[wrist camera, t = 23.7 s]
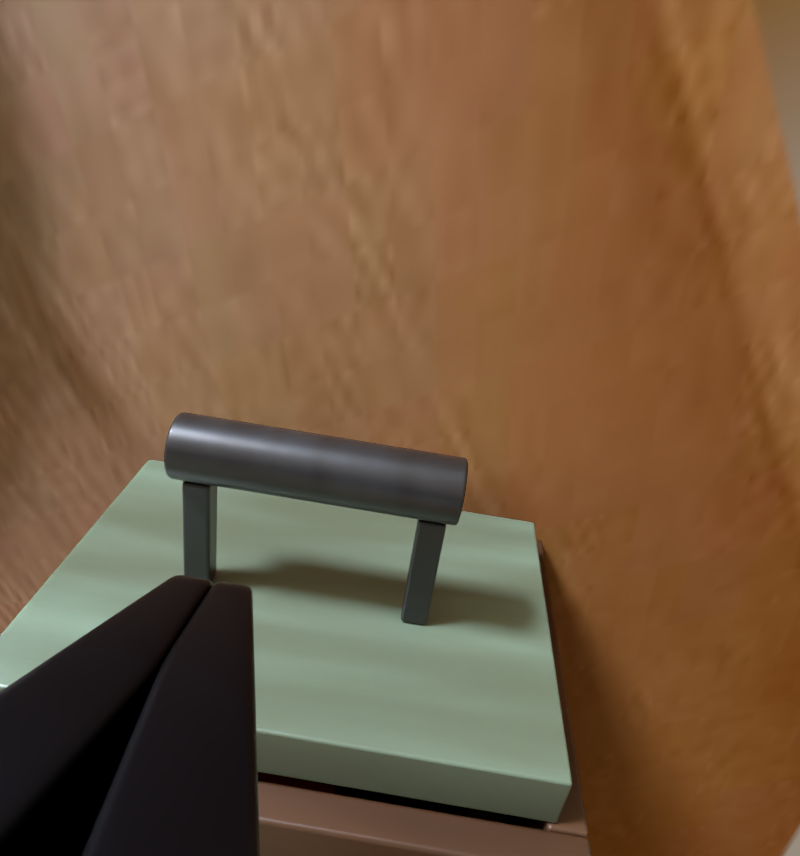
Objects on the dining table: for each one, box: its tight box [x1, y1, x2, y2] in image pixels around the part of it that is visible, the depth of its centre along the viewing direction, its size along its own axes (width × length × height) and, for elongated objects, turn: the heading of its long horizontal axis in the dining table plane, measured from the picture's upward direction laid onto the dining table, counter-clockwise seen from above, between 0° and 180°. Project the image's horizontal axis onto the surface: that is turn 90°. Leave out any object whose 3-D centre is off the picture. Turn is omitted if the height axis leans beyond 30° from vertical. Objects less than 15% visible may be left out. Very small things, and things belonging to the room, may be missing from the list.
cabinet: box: [258, 540, 591, 856], centre depth 20 cm, size 15×13×10 cm
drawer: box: [0, 412, 572, 823], centre depth 18 cm, size 18×11×8 cm, turn 172°
